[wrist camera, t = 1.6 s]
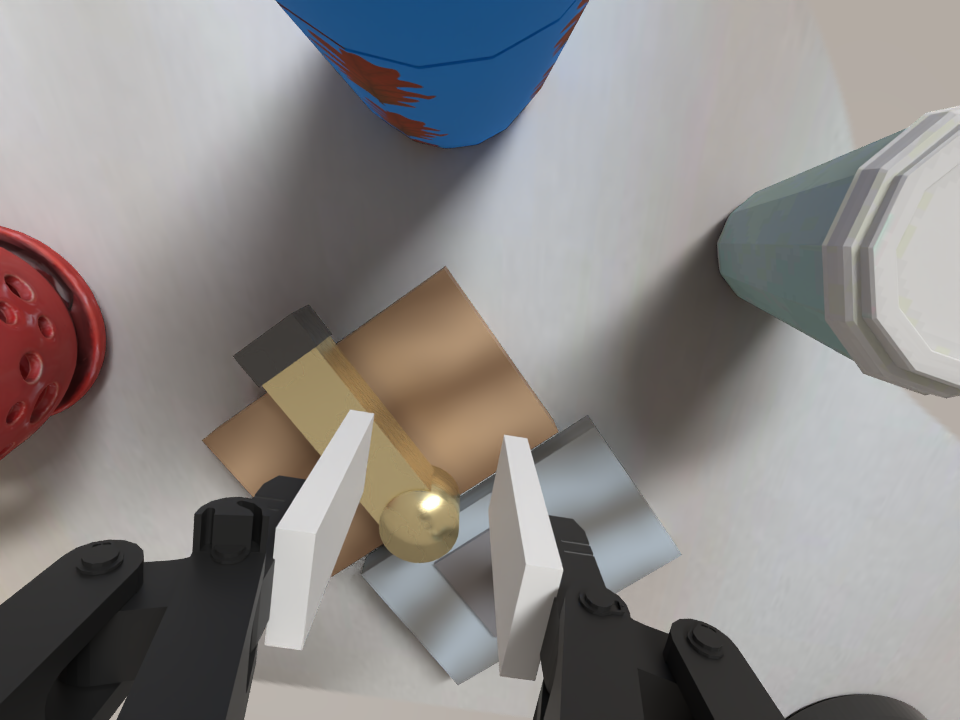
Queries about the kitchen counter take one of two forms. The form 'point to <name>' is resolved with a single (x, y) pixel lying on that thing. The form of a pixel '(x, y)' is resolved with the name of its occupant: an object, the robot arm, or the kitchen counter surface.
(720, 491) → the kitchen counter surface
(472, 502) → the door and jamb
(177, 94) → the kitchen counter surface
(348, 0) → the thermos
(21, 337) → the plant pot
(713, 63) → the kitchen counter surface
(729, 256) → the disposable coffee cup
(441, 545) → the swing bar
